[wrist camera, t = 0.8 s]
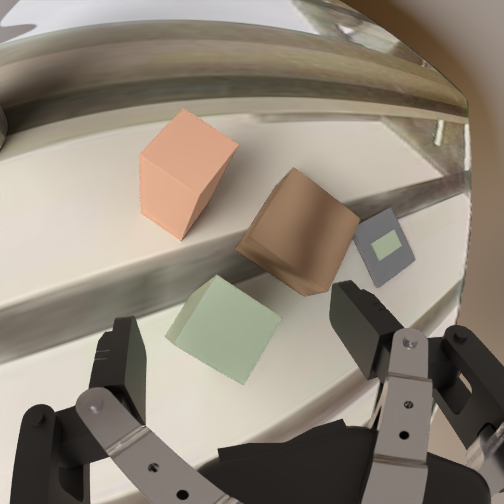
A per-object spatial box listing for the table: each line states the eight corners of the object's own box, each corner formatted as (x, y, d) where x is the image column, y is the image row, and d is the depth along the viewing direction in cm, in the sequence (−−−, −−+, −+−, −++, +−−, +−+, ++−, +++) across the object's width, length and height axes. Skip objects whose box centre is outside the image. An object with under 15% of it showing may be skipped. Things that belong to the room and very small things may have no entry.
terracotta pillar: (141, 213, 31) (139, 154, 20) (169, 177, 33) (183, 108, 22) (181, 241, 32) (199, 194, 20) (207, 203, 33) (239, 144, 22)
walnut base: (234, 249, 33) (249, 236, 28) (275, 186, 36) (293, 167, 32) (304, 296, 34) (327, 291, 30) (336, 231, 37) (360, 219, 33)
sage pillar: (164, 336, 29) (173, 344, 18) (191, 293, 31) (216, 274, 20) (208, 363, 30) (243, 385, 19) (234, 320, 31) (282, 317, 20)
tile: (348, 229, 38) (352, 227, 37) (387, 208, 41) (391, 206, 40) (376, 287, 38) (381, 286, 37) (411, 261, 41) (416, 259, 40)
